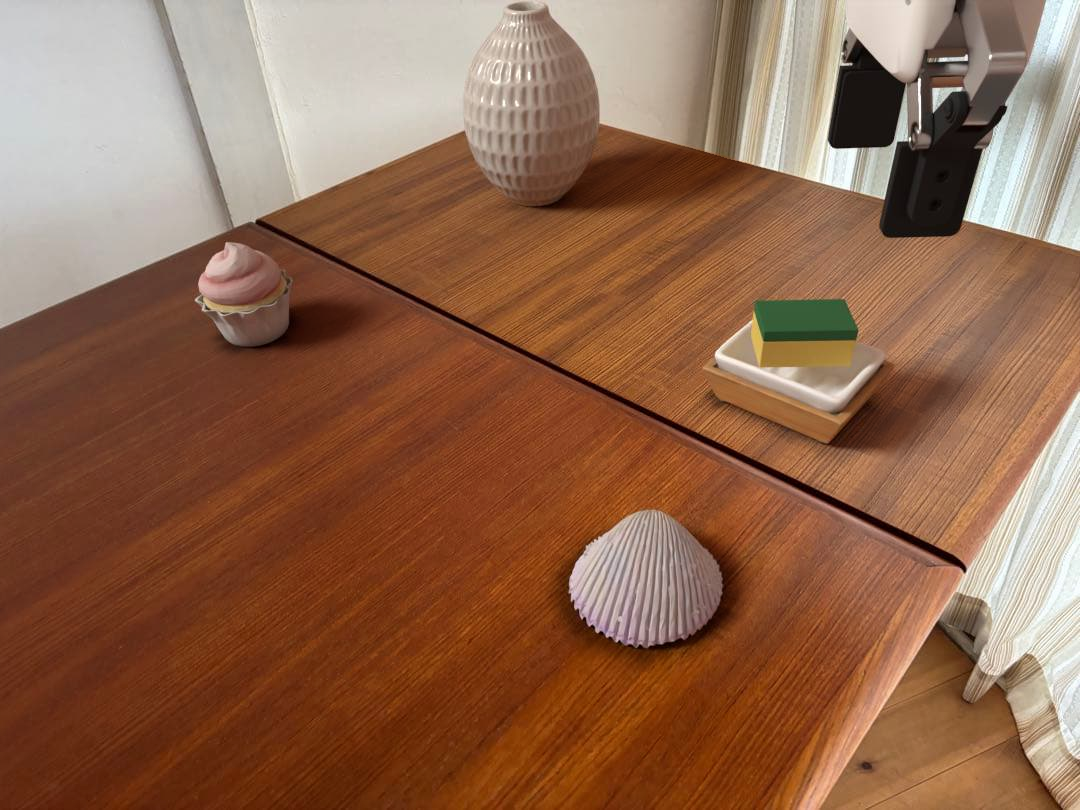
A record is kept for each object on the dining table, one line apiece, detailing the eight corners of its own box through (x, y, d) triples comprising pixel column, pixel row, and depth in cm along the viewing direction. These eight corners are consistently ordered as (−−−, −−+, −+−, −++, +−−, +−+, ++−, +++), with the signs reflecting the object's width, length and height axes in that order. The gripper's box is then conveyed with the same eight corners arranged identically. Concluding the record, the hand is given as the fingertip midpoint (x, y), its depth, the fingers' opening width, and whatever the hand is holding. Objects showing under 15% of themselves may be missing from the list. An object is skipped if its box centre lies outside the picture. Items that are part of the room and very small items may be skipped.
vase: (465, 225, 101) (443, 29, 87) (478, 170, 114) (460, -9, 100) (601, 222, 100) (600, 22, 87) (598, 167, 113) (598, -15, 99)
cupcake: (206, 318, 88) (176, 230, 81) (297, 298, 90) (274, 211, 84) (211, 367, 81) (178, 275, 74) (309, 344, 83) (285, 253, 77)
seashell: (726, 500, 59) (731, 590, 50) (718, 564, 62) (722, 660, 53) (581, 486, 61) (561, 571, 52) (578, 549, 63) (559, 641, 54)
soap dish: (887, 399, 72) (899, 350, 69) (834, 460, 66) (845, 410, 63) (756, 349, 79) (762, 302, 75) (698, 401, 73) (702, 352, 70)
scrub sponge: (837, 334, 71) (844, 298, 69) (850, 366, 67) (859, 329, 65) (750, 335, 71) (754, 300, 69) (759, 367, 68) (764, 331, 66)
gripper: (1258, -297, 22) (1046, 277, 33) (1003, -286, 36) (912, 117, 46) (962, -279, 23) (848, 281, 33) (821, -275, 36) (772, 122, 47)
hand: (885, 185), depth 40 cm, fingers open, 9 cm apart
